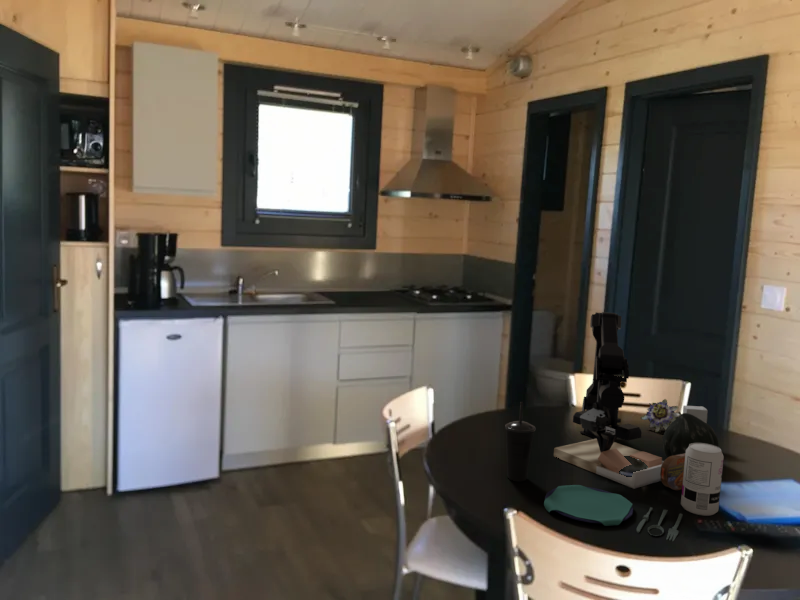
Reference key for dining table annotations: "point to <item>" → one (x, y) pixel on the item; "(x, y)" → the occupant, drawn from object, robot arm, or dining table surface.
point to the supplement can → (702, 479)
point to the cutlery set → (598, 507)
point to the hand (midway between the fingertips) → (603, 455)
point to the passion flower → (661, 415)
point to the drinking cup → (518, 447)
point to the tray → (633, 476)
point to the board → (588, 453)
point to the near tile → (613, 460)
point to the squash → (687, 434)
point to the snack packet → (673, 471)
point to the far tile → (648, 458)
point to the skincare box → (696, 412)
